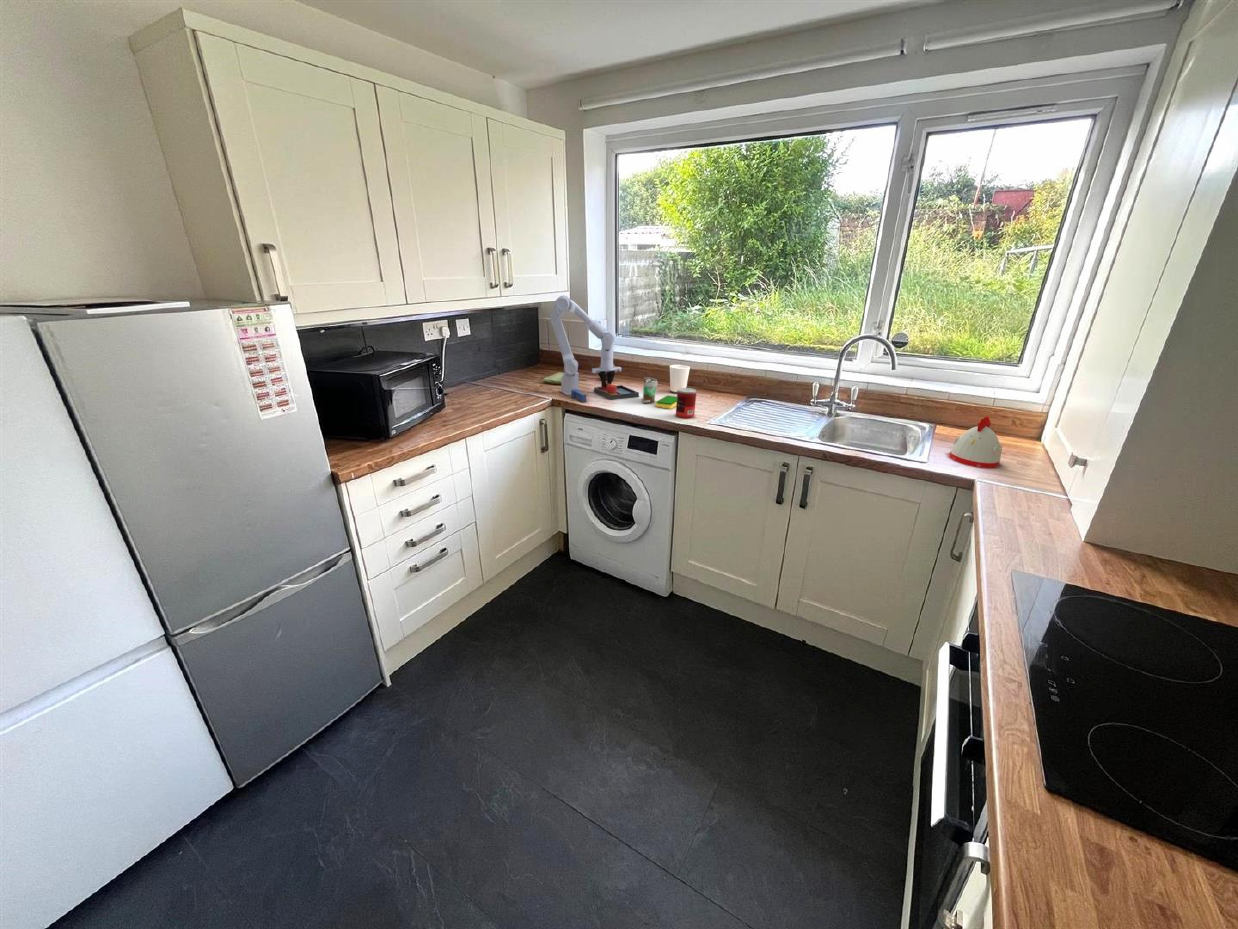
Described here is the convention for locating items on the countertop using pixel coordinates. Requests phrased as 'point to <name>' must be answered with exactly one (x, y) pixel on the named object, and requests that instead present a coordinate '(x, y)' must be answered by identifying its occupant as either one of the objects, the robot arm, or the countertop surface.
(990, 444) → the kitchen timer
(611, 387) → the red rectangular block
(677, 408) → the canned food
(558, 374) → the washcloth
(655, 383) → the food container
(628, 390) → the tray
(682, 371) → the cup
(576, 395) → the blue rectangular block
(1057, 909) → the countertop surface
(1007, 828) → the countertop surface
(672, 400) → the dish sponge
